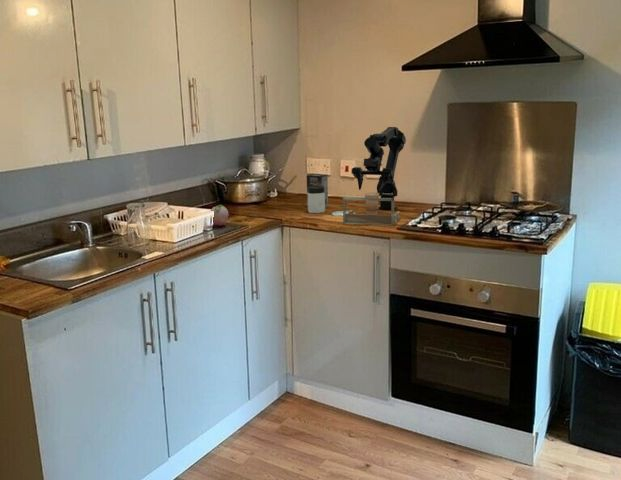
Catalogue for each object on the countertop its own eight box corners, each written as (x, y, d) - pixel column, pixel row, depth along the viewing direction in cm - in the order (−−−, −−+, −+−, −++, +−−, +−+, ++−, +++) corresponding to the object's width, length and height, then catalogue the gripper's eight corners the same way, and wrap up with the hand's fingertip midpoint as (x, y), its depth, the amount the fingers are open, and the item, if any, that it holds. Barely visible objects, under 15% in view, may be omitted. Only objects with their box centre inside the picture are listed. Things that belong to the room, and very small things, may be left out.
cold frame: (352, 217, 289) (351, 191, 286) (400, 219, 282) (400, 192, 280) (343, 224, 275) (342, 197, 272) (393, 226, 268) (393, 198, 265)
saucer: (344, 211, 305) (344, 210, 305) (360, 214, 297) (360, 212, 296) (327, 214, 298) (326, 213, 298) (342, 217, 290) (342, 216, 290)
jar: (313, 214, 301) (312, 188, 298) (304, 211, 307) (303, 187, 305) (329, 211, 305) (328, 186, 303) (319, 209, 312) (318, 185, 309)
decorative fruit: (210, 224, 283) (209, 202, 281) (229, 223, 284) (228, 201, 282) (209, 228, 274) (207, 206, 272) (228, 228, 275) (227, 205, 273)
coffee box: (306, 207, 319) (305, 175, 316) (313, 205, 324) (312, 173, 321) (322, 208, 314) (321, 176, 311) (328, 206, 320) (328, 174, 316)
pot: (372, 218, 283) (372, 192, 280) (382, 220, 278) (382, 193, 276) (362, 220, 279) (361, 193, 276) (372, 222, 274) (371, 195, 272)
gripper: (351, 150, 286) (344, 181, 281) (390, 150, 278) (384, 182, 273) (358, 161, 296) (351, 192, 291) (397, 162, 288) (391, 193, 283)
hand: (369, 190), depth 284 cm, fingers open, 9 cm apart
